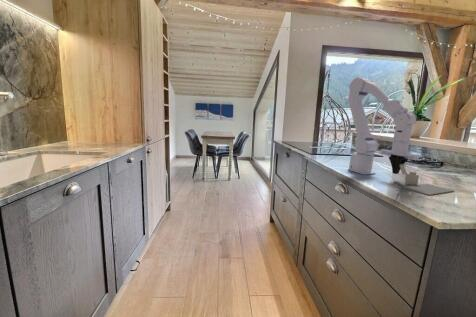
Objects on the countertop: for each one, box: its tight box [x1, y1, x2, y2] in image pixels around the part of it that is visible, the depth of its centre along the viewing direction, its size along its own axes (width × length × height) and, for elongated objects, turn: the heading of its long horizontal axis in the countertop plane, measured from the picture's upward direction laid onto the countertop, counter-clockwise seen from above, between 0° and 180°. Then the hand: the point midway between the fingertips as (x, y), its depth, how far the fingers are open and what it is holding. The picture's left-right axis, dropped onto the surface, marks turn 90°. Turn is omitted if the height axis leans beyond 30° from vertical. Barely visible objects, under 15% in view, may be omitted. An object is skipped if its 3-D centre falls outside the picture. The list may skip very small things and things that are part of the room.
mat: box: [402, 183, 455, 196], centre depth 91 cm, size 9×16×1 cm, turn 114°
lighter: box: [399, 163, 420, 186], centre depth 97 cm, size 7×2×8 cm, turn 69°
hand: (395, 173), depth 102 cm, fingers closed
